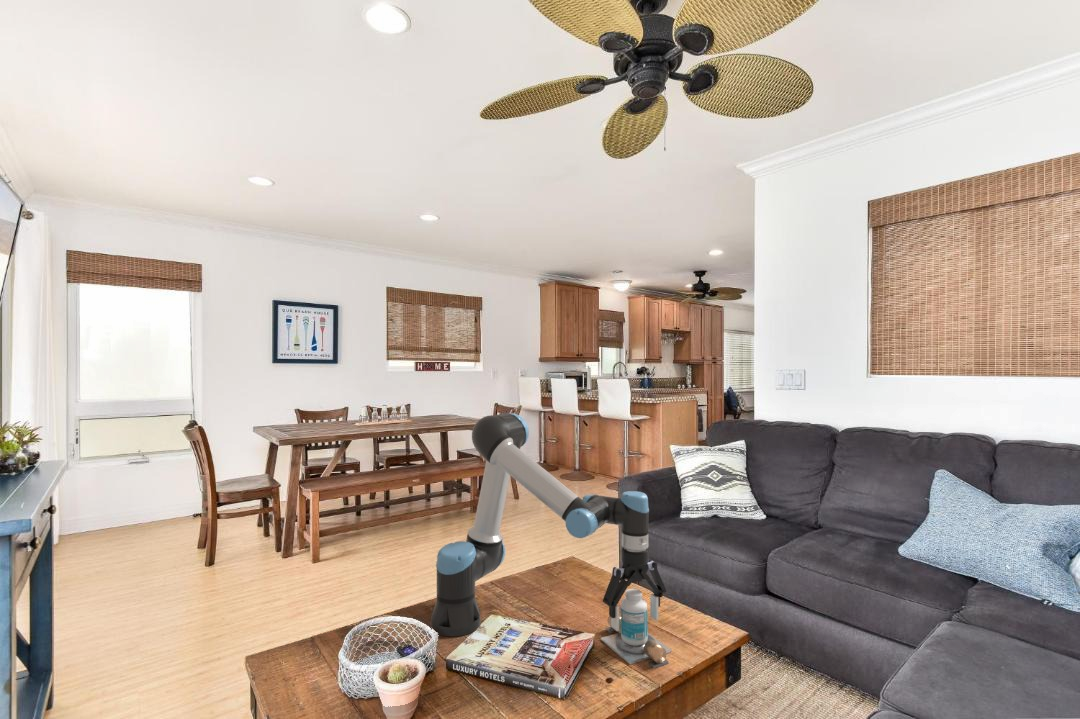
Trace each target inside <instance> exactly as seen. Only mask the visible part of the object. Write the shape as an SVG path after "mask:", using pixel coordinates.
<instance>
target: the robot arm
mask: <svg viewBox="0 0 1080 719" xmlns="http://www.w3.org/2000/svg"><path fill="white" fill-rule="evenodd" d="M529 432H530V430H529V426H528V423H527V422H526V420H525V419H524V418H523V417H522V416H521V415H519V414H518V413H513V412H511V413H509V412H504V413H503V412H502V413H499V414H493V415H492V414H491V415H487V416H483V417H481V418H479V420H477V422H476V423H475V424H474V426H473V427H472V431H471V441H472V444H473V447H474V448H475V450H476V451H477V452H478V453H479V455H480V456H481V457H482V458H483V459H484V460H486V461H485V466H484V470H483V471H484V472H483V477H482V481H481V488H480V492H479V497H478V503H477V507H476V514H475V518H474V523H473V526H472V527H470V528H469V529H468V530H467V533H466V534H467V535H466V540H465V541H464V540H463V541H455V542H450V543H447V544H445V545H444V546H443V547H441V548H440V549H439V550H438V552H437V555H436V563H435V564H436V565H435V567H436V601H435V604H434V607H433V609H432V613H431V616H430V628H431V627H432V628H433V629H434V630H435V631H436V632H438V633H439V634H438V635H439V636H443V637H452V638H453V637H461V636H465V635H469V634H471V633H474V632H475V631H477V630H478V629H479V628H480V626H481V622H482V619H481V618H482V616H481V613H480V609H479V606H478V603H477V599H476V582H477V581H479V580H480V579H482V578H484V577H485V576H487V575H489V574H490V573H492V572H494V571H495V570H496V569H498V567H499V566H501V564H502V563H503V562H504V559H505V556H506V545H505V544H504V540H503V534H502V533H501V531H500V529H501V524H502V519H503V516H504V509H505V504H506V499H507V495H508V494H507V493H508V489H509V488H508V487H509V483H510V478H513V480H515V481H517V482H518V483H519V484H520V485H521V486H523V487H524V488H525V489H526V490H527V491H528V492H530V494H532V495H533V496H534V497H536V498H537V499H538V500H539V501H540V502H542V503H543V504H544V505H545V506H546V507H547V508H549V510H551V511H552V512H554V513H555V514H556V515H557V516H558V517H560V518H561V519H562V520H563V521H564V522H565V527H566V530H567V532H568V534H570V535H571V536H572V537H574V538H576V539H584V538H587V537H590V536H592V535H593V534H594V533H595V532H596V531H597V530H599V528H601V527H603V526H604V525H606V524H608V525H609V524H610V525H615V526H620V527H621V562H622V566H621V568H620V567H619V568H618V567H616V566H614V567H613V568H612V570H611V571H612V572H611V576H610V580H609V583H608V585H607V587H606V590H605V593H604V596H603V598H602V603H604V604H605V605H606V606H608V610H609V611H608V614H609V616H610V617H611V626H610V627H612V628H614V629H615V630H616V631H619V616H620V606H619V605H618V604H619V602H620V600H622V597H623V595H624V594H625V592H626V590H628V587H629V586H631V584H634V583H637V582H642V581H643V582H644V584H645V585H646V586H647V587H648V589H649V590H650V591H651V592H652V593H650V597H649V599H650V602H649V605H650V609H649V610H650V614H649V615H650V618H652V619H653V620H655V621H659V608H660V607H661V598H663V596H664V594H665V593H666V592H667V589H666V587H665V586H666V585H665V584H664V582H663V579H662V577H661V575H660V573H659V570H658V564H657V562H655V561H653V560H651V559H649V549H648V548H649V513H650V508H649V498H648V495H647V494H646V493H645V492H642V491H636V490H633V491H632V490H630V491H629V490H627V491H624V492H622V494H621V497H615V496H614V497H611V496H606V495H599V494H585V495H584V496H583V497H582V498H580V496H578V495H577V494H576V493H575V492H573V491H572V490H571V489H570V488H568V487H567V486H566V485H564V483H562V482H561V481H560V480H558V479H557V478H556V477H555V476H554V475H553V474H551V473H550V472H549V471H547V470H546V469H545V468H544V467H542V466H541V465H540V464H539V463H538V462H536V461H535V460H534V459H532V458H531V457H530V456H529V455H528V454H527V453H525V452H524V451H523V450H521V448H522V447H523V446H524V445H525V444H526V443H527V442H528V439H529V435H530V433H529ZM648 571H649V572H650V574H651V577H652V579H651V578H650V576H649V574H647V572H648ZM652 580H653V581H654V582H653V581H652ZM609 616H608V617H609ZM478 627H479V628H478ZM477 628H478V629H477Z"/></svg>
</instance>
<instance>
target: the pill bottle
mask: <svg viewBox="0 0 1080 719" xmlns="http://www.w3.org/2000/svg"><path fill="white" fill-rule="evenodd" d="M624 594H625V597H624V598H622V599H621V601H620V617H621V638H622V640H623V641H624V642H625V643H627V644H629V645H633V646H640V645H643V644H645V643H646V642H647V639H648V633H649V632H648V603H647V601H646V600H645V599H644V598H643V591H642V590H640V589H637V588H630V589H629V588H627V589H626V590H625V592H624Z"/></svg>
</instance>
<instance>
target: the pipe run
mask: <svg viewBox="0 0 1080 719" xmlns="http://www.w3.org/2000/svg"><path fill="white" fill-rule="evenodd" d="M607 625H608V626H609V627H605V631H606V632H608V634H609V635H607V636H602V637H600V641H601V642H603V643H604V644H605V646H607V647H609V648H610V649H611V650H612V651H613V652H614V653H615V654H617V655H618V656H619V657H620V658H622V659H623V660H624V661H625V663H627V664H628V665H632V664H636V663H639V662H643V661H646V660H647V665H649V666H650V667H651V668H652V669H655V668H660V667H662V666H665V665H668V664H669V661H668V659H666V658H667V654H668V653H672V649H671V648H669V647H668V646H667V645H665V644H664V643H662V642H661V641H660V640H658V639H657V638H656V637H655V636H653V635H652V634H650V633H649V632H648V639H647V642H646V643H645V644H643V645H640V646H633V645H629V644H627V643H625V642H624V641H623V640H622V638H621V615H619V631H616V630H615V629H614V628H612V627H611V617H610V616H608V618H607ZM613 633H614V634H613ZM649 659H651V660H649Z"/></svg>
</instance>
